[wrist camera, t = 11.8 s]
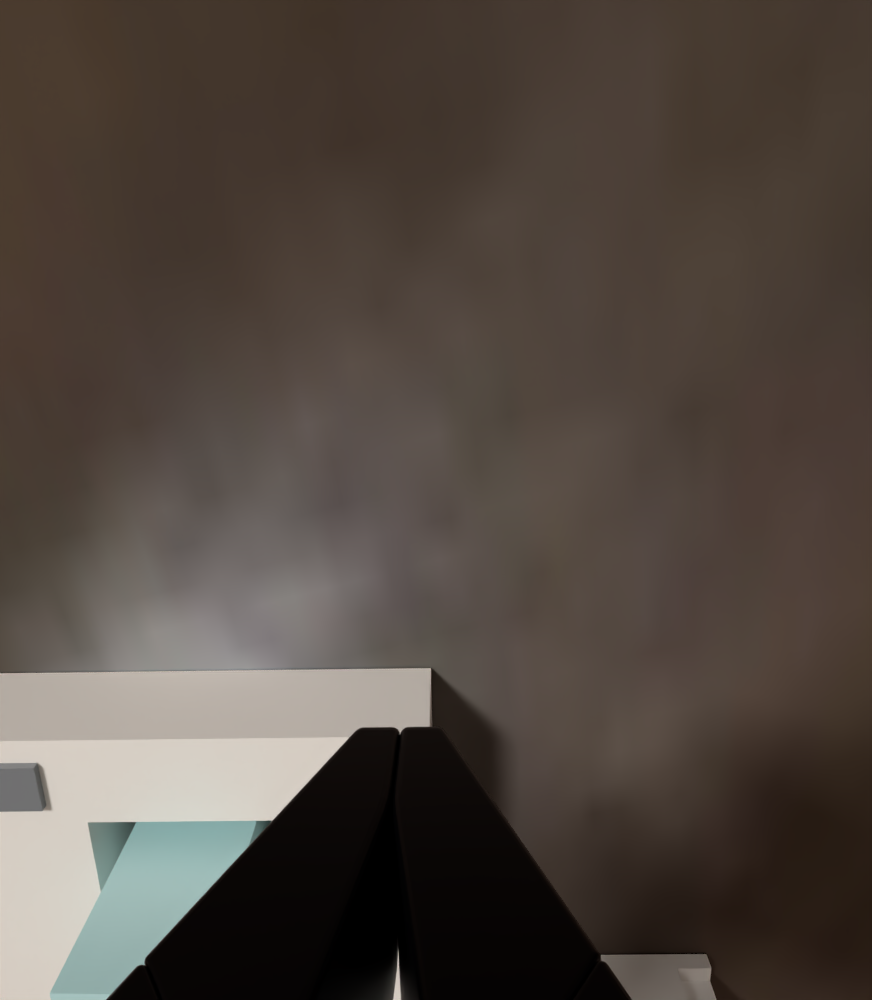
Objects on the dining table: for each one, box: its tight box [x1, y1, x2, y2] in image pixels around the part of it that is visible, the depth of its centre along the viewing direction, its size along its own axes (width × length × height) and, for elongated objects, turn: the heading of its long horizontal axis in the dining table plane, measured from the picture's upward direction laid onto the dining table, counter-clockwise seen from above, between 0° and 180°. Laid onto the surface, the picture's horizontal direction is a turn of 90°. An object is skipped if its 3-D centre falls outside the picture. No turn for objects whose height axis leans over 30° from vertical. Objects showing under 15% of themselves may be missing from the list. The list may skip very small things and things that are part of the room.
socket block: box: [0, 668, 432, 1000], centre depth 22 cm, size 12×10×3 cm
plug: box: [50, 821, 272, 1000], centre depth 19 cm, size 3×4×8 cm
